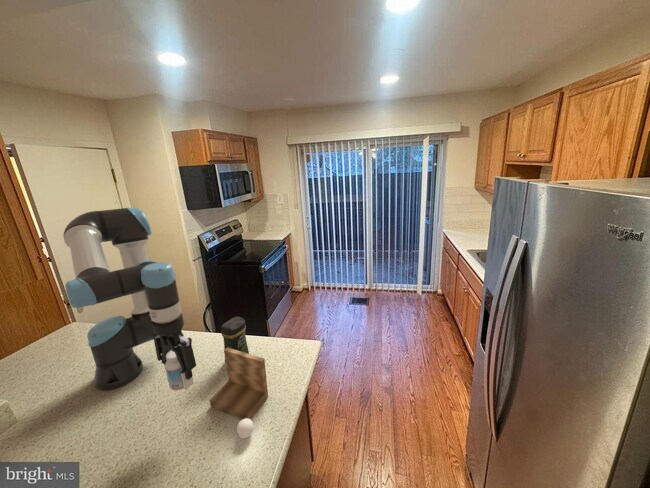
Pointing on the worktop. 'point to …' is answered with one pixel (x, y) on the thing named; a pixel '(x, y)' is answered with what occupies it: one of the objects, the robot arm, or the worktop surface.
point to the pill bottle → (173, 371)
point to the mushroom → (245, 428)
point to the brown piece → (242, 385)
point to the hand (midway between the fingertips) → (180, 382)
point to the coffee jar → (235, 334)
